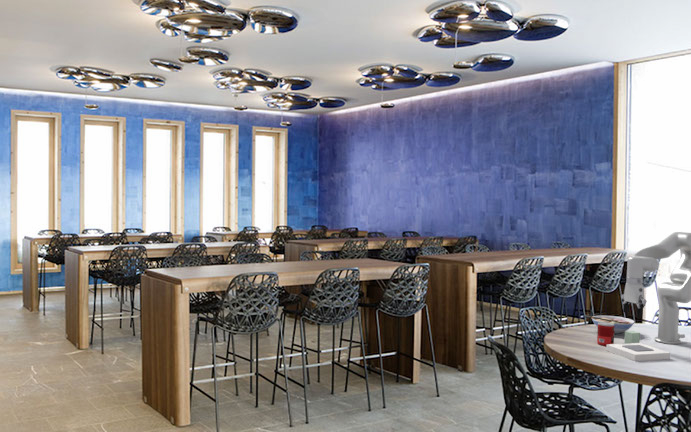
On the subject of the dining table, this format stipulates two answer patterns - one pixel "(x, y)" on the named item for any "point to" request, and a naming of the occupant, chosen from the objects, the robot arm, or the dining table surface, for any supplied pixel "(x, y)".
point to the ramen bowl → (614, 322)
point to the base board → (637, 351)
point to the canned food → (605, 333)
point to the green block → (632, 337)
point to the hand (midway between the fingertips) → (632, 314)
